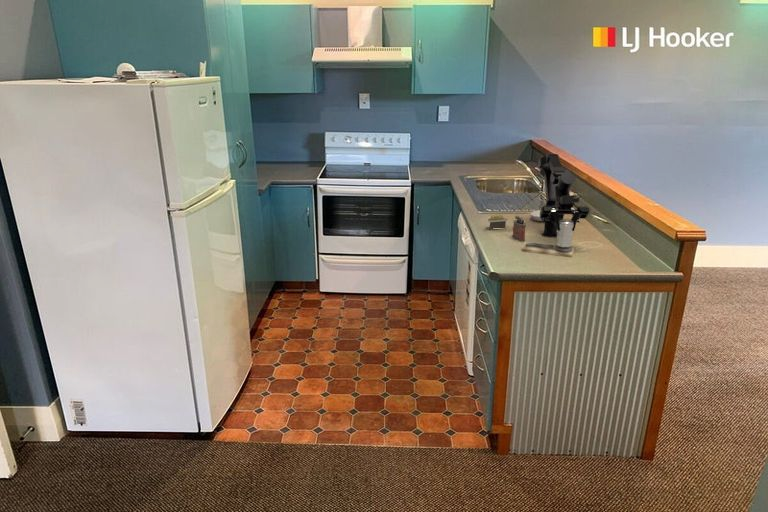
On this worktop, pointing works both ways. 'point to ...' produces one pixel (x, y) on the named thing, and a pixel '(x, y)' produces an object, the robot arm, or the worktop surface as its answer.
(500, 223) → the platform
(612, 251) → the worktop surface
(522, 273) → the worktop surface
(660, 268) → the worktop surface
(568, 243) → the silver cylindrical piece
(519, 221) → the lighter
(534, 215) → the spoon rest
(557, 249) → the board
